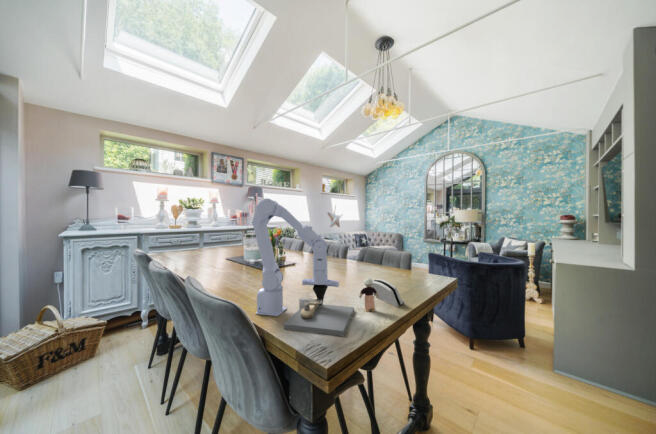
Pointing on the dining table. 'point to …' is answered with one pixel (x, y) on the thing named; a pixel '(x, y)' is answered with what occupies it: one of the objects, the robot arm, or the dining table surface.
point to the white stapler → (387, 292)
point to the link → (309, 309)
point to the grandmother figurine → (369, 295)
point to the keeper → (307, 300)
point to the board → (322, 320)
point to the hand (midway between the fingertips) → (320, 304)
